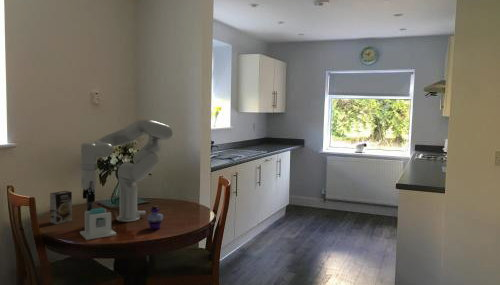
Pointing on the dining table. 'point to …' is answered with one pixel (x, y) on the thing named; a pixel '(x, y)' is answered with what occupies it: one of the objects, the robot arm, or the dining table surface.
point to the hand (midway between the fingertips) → (88, 200)
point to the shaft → (90, 206)
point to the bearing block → (94, 230)
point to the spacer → (97, 211)
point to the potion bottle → (154, 218)
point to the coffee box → (60, 207)
